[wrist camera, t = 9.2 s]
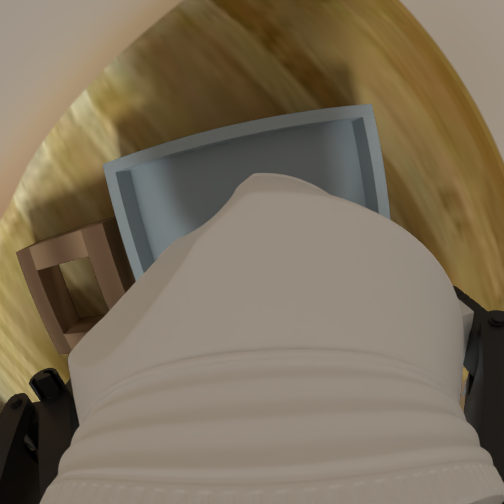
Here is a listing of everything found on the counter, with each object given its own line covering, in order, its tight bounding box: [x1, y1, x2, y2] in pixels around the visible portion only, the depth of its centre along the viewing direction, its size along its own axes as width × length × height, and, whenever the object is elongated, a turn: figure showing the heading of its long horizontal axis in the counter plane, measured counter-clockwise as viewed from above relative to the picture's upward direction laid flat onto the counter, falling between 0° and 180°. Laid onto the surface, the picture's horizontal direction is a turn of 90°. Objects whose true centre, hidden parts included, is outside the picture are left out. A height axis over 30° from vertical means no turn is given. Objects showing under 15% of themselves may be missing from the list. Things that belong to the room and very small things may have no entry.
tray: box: [103, 104, 391, 281], centre depth 20 cm, size 18×18×3 cm
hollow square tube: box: [16, 216, 136, 354], centre depth 22 cm, size 10×10×3 cm
